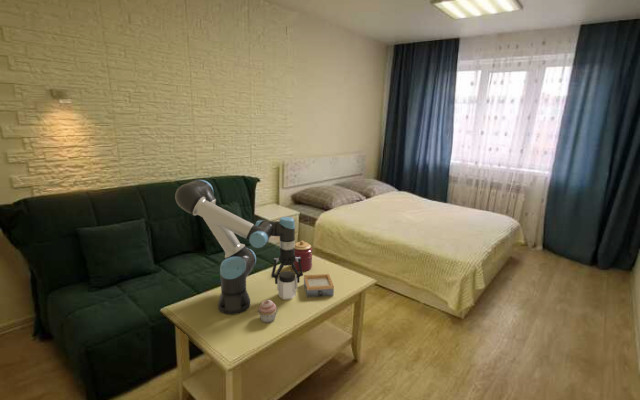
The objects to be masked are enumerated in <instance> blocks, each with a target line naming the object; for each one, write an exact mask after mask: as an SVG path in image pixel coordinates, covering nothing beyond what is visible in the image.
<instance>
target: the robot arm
mask: <svg viewBox="0 0 640 400" xmlns="http://www.w3.org/2000/svg"><path fill="white" fill-rule="evenodd" d="M174 196H175V197H174V198H175V202H176V204H177V205H178V207H179V208H181V209H182V210H183V211H185V212H186V213H188V214H191V215H192V216H200V217H201V218H203V220H204V222H205V224H206V225H207V226H208V228H209V230H210V231H211V233H212V235H213V236H214V237H215V239H216V241H217V242H218V243H219V245H220V246H221V248H222V250H223V251H224V254H225V255H224V258H225V259H224V260H222V262H221V264H220V265H219V267H220V268H219V276H220V277H219V278H220V289H221V290H220V291H221V292H220V296H219V299H218V302H217V308H218V311H219V312H220V313H222V314H225V315H238V314H242V313H244V312H246V311H247V310H248V309H249V308H250V306H251V299H250V296H249V293H248V291H247V277H248V276H249V274H250V273H251V272H252V270H253V269H254V267H255V266H256V263H257V256H256V254H255V252H254V251H253V250H252V249H251V248H248V247H247V246H246V244H244V243H240V241H239V239H238V237H237V236H236V235H238V236H240V237H241V238H244V239H245V240H247V241H249V243H250V245H251V246H252V247H253V248H256V249H261V248H263V247H264V246H265V245H266V244H267V243H268V242H269V240H270V239H271V237H279V256H278V257H273V265H272V266H273V267H272V270H271V278H273V279H274V284H275V285H276V286H277V287H276V288H277V290H276V291H277V292H278V291H279V274H280V273H281V271H282V270H283V268H284V266H286V267H287V266H289V267H290V266H292V267H291V269H292V268H293V269H292V270H293V271H294V273H295V279H296V290H298V284H299V283H300V277H304V273H303V272H304V271H303V272H302V268H301V263H300V262H301V258H300V257H295V248H294V247H295V243H296V238H295V236H296V224H295V219H294V217H291V216H282V217H281V218H279V220H278V221H277V220H266V219H263V220H262V219H261V220H256V222H255V224H254V223H252V222H250V221H248V220H246V219H244V218H242V217H240V216H238V215H236V214H234V213H232V212H230V211H228V210H226V209H224V208H222V207H220V206H218V205H217V204H216V202H217V199H216V197H215V196H214V188H213V185H212V184H211V183H210V182H208V181H207V180H204V179H195V180H192V181H190V182H187V183H183V184H182V185H181V186H179V187H178V188H177V189H176V192H175V194H174ZM295 260H296V261H297V262H298V265H299V270H300V271H297V269H296V267H295V265H294V263H293V262H294V261H295ZM278 262H280V264H279V266H278V269H277V263H278ZM276 269H277V270H276Z"/></svg>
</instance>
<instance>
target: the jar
mask: <svg viewBox="0 0 640 400" xmlns="http://www.w3.org/2000/svg"><path fill="white" fill-rule="evenodd" d="M295 276H296V273H295V272H293V271H290V270H284V271H282V272H280V274H279V291H278V290H277V295H278V297H280V298H281V299H282V301H283V300H292V299H294V297H296V293H297V291H296V290H297V289H296V279H295Z"/></svg>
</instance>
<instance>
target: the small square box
mask: <svg viewBox="0 0 640 400" xmlns="http://www.w3.org/2000/svg"><path fill="white" fill-rule="evenodd" d="M303 286H304V291H305V295H306V298H318V297H319V298H320V297H322V298H323V297H334V295H335V294H334V292H335V288H334V287H335V286H334V283H333V281H332V278H331V276H330V274H329V273H326V274H324V273H323V274H322V273H321V274H306V275H304V274H303Z"/></svg>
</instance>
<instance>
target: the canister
mask: <svg viewBox="0 0 640 400" xmlns="http://www.w3.org/2000/svg"><path fill="white" fill-rule="evenodd" d="M294 248H295V257H300V258H301V262H300V263H301V268H302V272H308V271H310V270H311V269H312V268H313V253H312V252H313V247H312V244H310V243H309V242H306V241H304V240H300V241H297V242H295V247H294ZM293 263H294V265H295V267H296V269H297V271H298V272H300V270H299V265H298V262H297V261H296V260H295V261H294V262H293ZM290 266H291V265H290ZM291 269H292V270H293V268H292V266H291Z"/></svg>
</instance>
